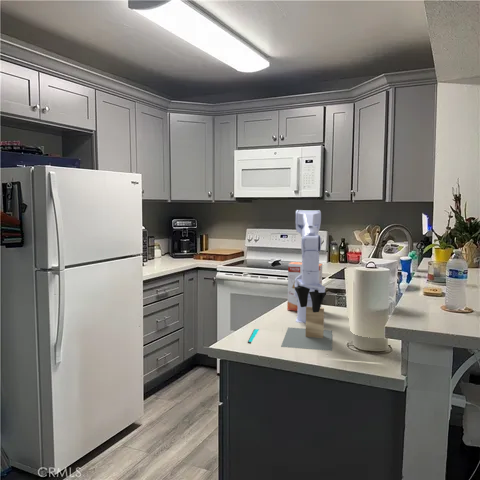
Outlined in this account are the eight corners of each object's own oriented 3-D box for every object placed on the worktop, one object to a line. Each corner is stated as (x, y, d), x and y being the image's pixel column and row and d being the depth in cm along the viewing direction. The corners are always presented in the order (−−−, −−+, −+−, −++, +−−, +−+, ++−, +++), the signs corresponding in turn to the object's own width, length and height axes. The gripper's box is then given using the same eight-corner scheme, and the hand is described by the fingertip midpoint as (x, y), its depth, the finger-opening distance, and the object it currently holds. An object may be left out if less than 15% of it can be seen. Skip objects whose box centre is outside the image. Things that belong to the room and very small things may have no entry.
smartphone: (247, 341, 137) (254, 328, 152) (247, 344, 138) (254, 331, 152) (269, 343, 136) (274, 330, 151) (269, 346, 136) (274, 332, 151)
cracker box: (286, 310, 181) (287, 263, 180) (290, 307, 187) (291, 261, 185) (318, 313, 176) (319, 265, 174) (321, 310, 182) (322, 263, 180)
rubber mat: (288, 328, 154) (288, 327, 154) (332, 331, 151) (332, 330, 151) (280, 348, 133) (280, 346, 133) (332, 352, 129) (332, 350, 129)
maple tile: (305, 334, 146) (306, 306, 145) (323, 335, 144) (324, 307, 143) (305, 336, 143) (306, 308, 142) (323, 338, 142) (323, 309, 141)
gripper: (289, 268, 147) (288, 305, 149) (312, 274, 134) (311, 315, 135) (306, 266, 150) (305, 303, 151) (330, 273, 137) (329, 313, 138)
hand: (309, 309), depth 144 cm, fingers open, 7 cm apart
